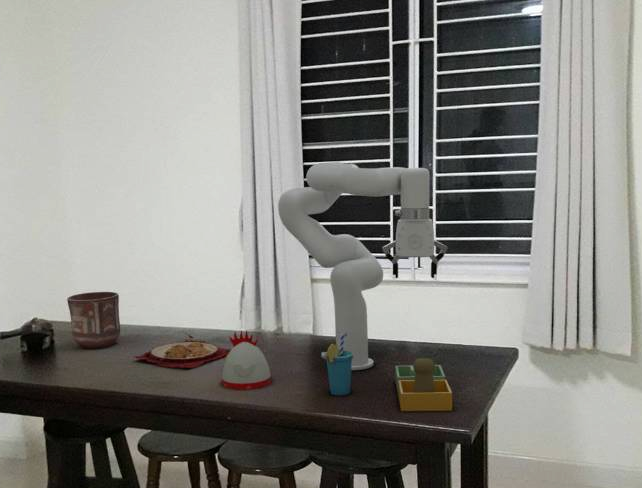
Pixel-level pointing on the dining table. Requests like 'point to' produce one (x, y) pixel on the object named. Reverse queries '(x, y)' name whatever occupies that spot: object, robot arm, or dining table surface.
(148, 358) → the plate with food
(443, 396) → the ochre bin
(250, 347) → the kitchen timer
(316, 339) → the dining table surface
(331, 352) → the cup
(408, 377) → the green bin
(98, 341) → the pottery
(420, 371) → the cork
